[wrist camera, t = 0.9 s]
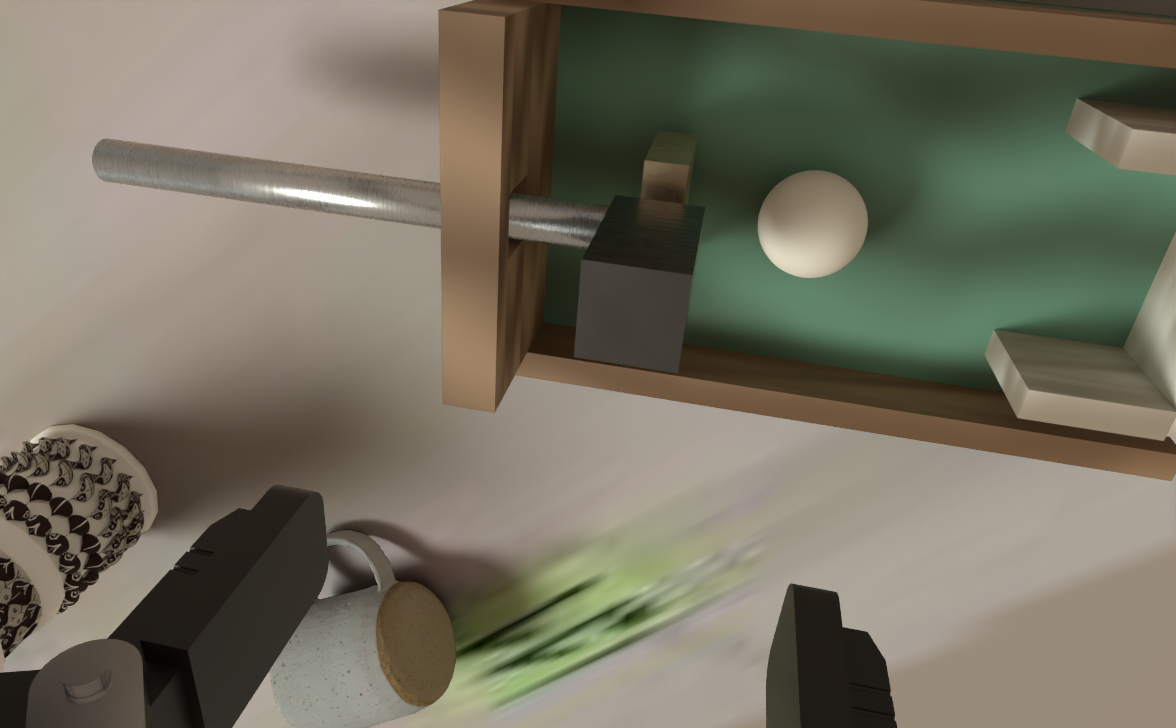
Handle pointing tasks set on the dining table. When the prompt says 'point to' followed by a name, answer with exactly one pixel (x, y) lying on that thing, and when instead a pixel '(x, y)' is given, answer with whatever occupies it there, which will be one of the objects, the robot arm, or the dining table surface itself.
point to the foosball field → (887, 186)
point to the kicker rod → (609, 233)
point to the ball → (812, 224)
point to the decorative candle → (64, 522)
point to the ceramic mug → (365, 651)
